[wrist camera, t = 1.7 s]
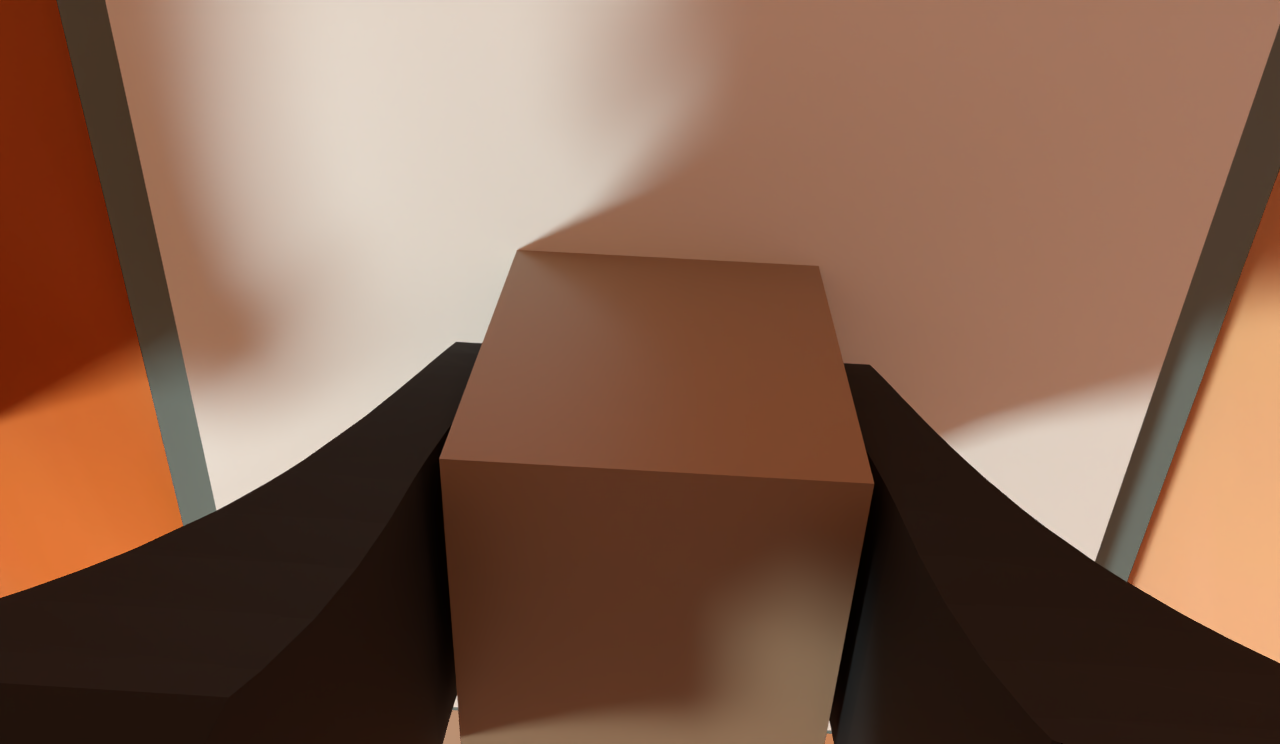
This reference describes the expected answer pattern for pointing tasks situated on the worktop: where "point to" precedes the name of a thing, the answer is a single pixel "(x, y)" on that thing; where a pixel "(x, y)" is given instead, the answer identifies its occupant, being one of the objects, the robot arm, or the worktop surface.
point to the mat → (1266, 145)
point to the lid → (682, 293)
